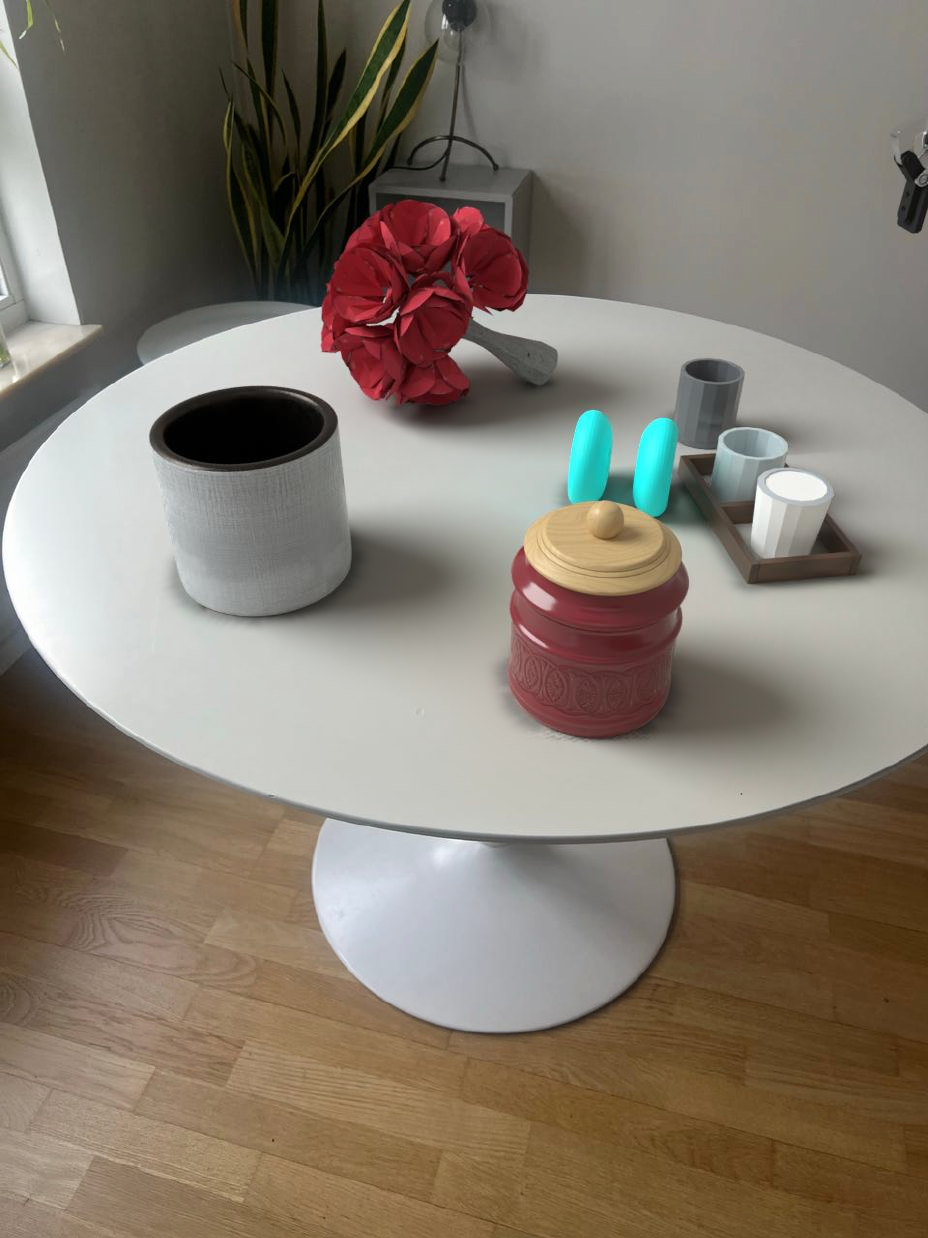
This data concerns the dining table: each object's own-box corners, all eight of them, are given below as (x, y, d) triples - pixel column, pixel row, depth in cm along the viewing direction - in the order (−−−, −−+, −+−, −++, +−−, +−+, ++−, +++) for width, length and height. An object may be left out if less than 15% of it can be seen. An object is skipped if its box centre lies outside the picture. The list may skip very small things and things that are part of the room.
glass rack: (768, 473, 103) (774, 448, 101) (853, 582, 87) (862, 555, 85) (676, 480, 102) (680, 455, 100) (745, 592, 86) (751, 564, 84)
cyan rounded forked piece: (661, 538, 93) (676, 448, 87) (562, 524, 95) (569, 436, 89) (669, 487, 101) (683, 402, 94) (577, 476, 102) (584, 391, 96)
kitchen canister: (667, 647, 80) (699, 465, 69) (667, 757, 70) (705, 566, 59) (516, 631, 82) (524, 451, 71) (496, 737, 72) (501, 547, 61)
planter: (149, 609, 84) (107, 455, 74) (229, 516, 96) (203, 374, 86) (314, 639, 81) (293, 482, 71) (376, 539, 93) (366, 394, 83)
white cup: (831, 560, 89) (850, 497, 84) (767, 573, 87) (784, 510, 82) (790, 523, 94) (806, 461, 89) (729, 534, 92) (743, 472, 88)
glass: (758, 483, 101) (772, 425, 97) (784, 517, 96) (799, 456, 92) (698, 488, 100) (709, 429, 96) (720, 522, 95) (733, 461, 91)
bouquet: (483, 394, 134) (288, 307, 120) (576, 246, 121) (370, 129, 107) (518, 479, 118) (298, 390, 104) (628, 319, 106) (396, 193, 92)
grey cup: (719, 419, 113) (731, 356, 108) (740, 446, 108) (754, 381, 103) (663, 422, 112) (673, 359, 107) (682, 450, 107) (693, 385, 102)
